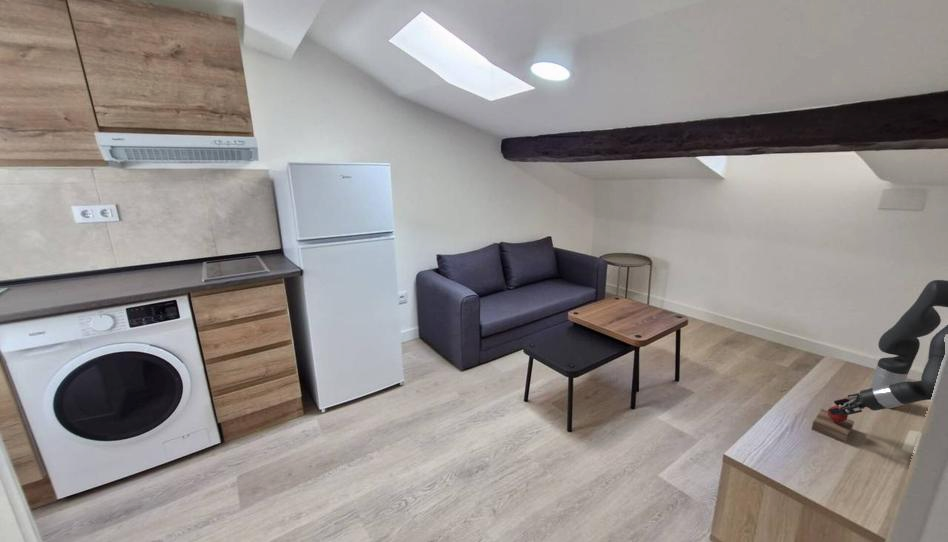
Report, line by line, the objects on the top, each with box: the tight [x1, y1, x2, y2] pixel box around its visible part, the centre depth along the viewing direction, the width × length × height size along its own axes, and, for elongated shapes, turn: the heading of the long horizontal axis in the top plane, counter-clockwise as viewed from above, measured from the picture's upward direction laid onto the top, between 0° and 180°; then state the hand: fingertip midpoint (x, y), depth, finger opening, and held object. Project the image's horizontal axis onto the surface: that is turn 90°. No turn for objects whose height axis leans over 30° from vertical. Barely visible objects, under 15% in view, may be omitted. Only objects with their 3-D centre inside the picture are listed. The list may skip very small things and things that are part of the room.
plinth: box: [811, 409, 855, 444], centre depth 152 cm, size 12×10×4 cm
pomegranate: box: [826, 405, 849, 422], centre depth 150 cm, size 6×6×8 cm
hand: (832, 407), depth 151 cm, fingers open, 8 cm apart
